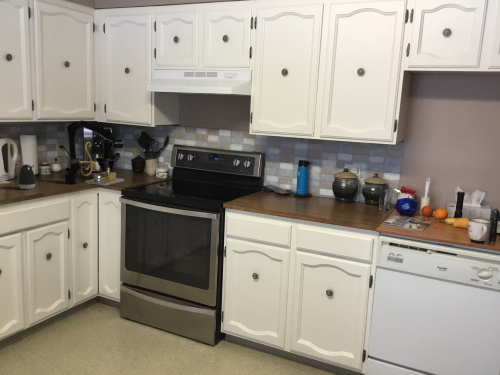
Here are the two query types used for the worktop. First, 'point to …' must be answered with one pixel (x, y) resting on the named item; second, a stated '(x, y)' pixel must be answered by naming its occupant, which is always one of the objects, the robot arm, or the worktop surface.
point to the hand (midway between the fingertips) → (107, 171)
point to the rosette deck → (104, 179)
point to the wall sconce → (91, 163)
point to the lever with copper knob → (107, 170)
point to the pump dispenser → (26, 177)
